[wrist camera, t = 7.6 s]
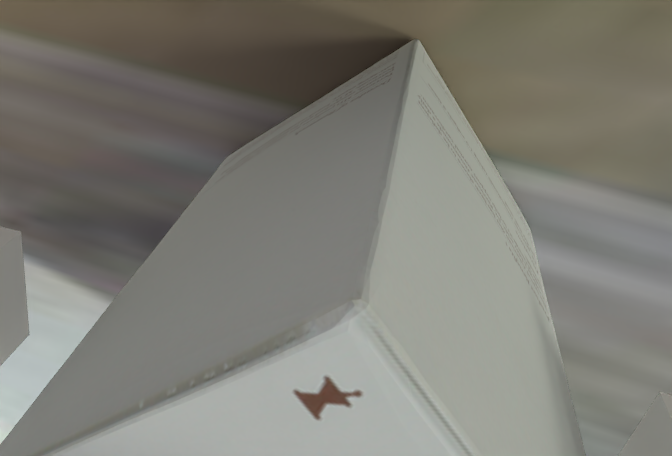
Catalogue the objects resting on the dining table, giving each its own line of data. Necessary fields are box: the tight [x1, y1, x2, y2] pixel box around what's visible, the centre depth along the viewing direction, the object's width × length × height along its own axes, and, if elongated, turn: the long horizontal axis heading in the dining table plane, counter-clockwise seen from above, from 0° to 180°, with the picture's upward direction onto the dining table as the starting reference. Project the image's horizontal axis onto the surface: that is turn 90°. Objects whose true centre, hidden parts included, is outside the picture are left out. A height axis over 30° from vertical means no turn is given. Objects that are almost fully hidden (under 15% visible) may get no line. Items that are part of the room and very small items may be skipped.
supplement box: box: [0, 39, 586, 456], centre depth 14 cm, size 7×7×13 cm
